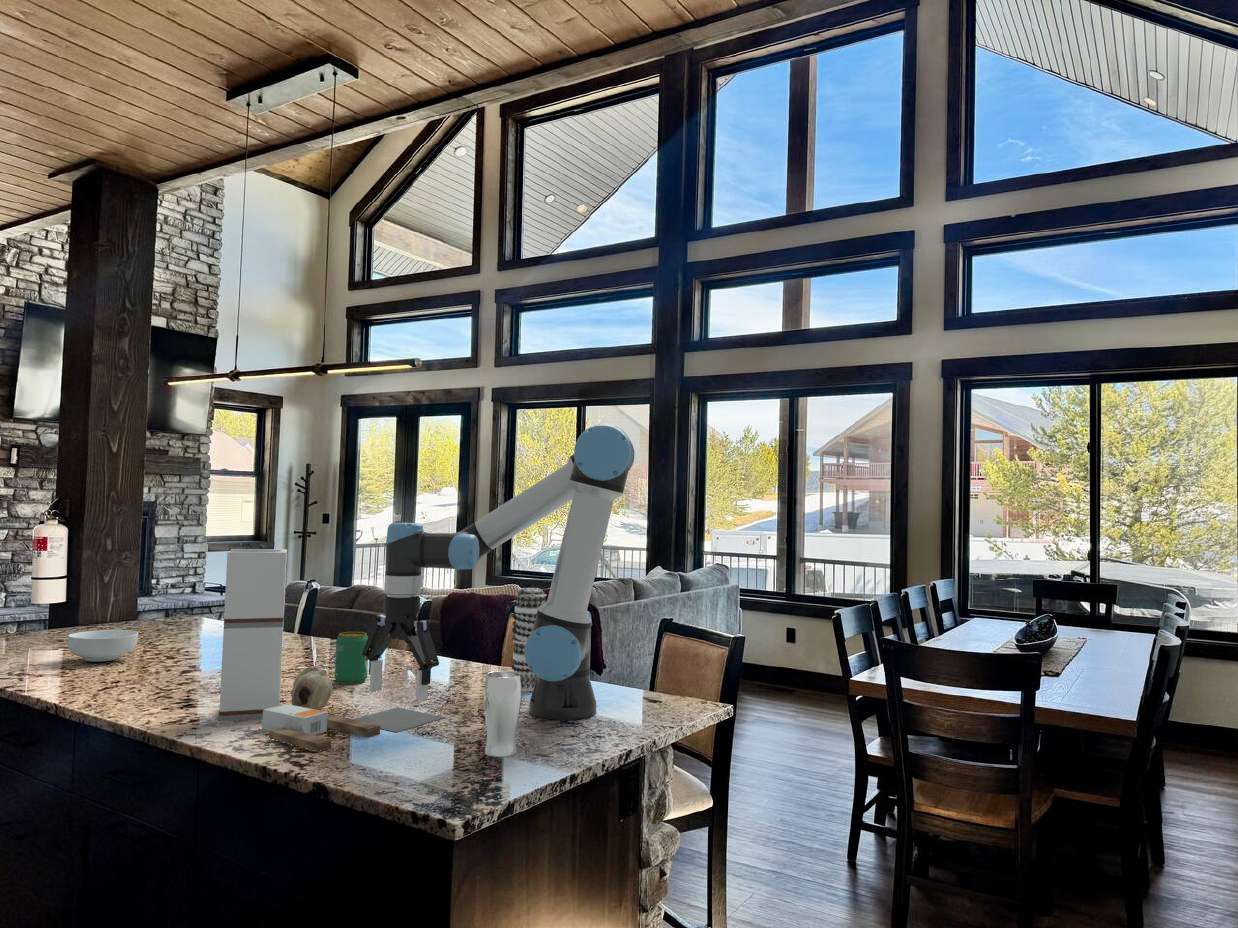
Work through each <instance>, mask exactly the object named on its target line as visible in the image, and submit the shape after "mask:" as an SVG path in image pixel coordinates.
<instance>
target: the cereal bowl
mask: <svg viewBox="0 0 1238 928" xmlns="http://www.w3.org/2000/svg"><path fill="white" fill-rule="evenodd" d="M138 639H139V632H138V631H135V630H129V629H128V630H127V629H104V630H103V629H102V630H101V629H100V630H99V629H98V630H88V631H79V632H73V633H70V634H67V639H66V640H67V648H68V651H69V652H71V654H73V655H74V656H76V657H80V658H82V659H84V661H87V662H108V661H110V662H111V661H115V660H117V659H119V658H120V657H121V656H124V655H126V654H129V653H130V652H132V650H134V649H135V647H136V646H137V643H138Z"/></svg>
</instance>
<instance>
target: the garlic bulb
mask: <svg viewBox="0 0 1238 928" xmlns="http://www.w3.org/2000/svg"><path fill="white" fill-rule="evenodd" d="M327 673H328V671H327V670H323V669H322V668H321V667H320V666H319V665H312V666H308V667H306V668H304V669H303V670H301V671H300V672H299V673H298V674H297V675H296V677H295V679H294V680H293V682H292V683H293V684H292V689H291V695H290V696H291V700H290V701H291V702H290V703H291V705H294V706H299V707H304V708H309V709H315V710H320V711H323V709H324V708H325V707H326V706H327V704H328V703H329V701H330V699H331V697H332V694H333V683H332V680H331V678H330V676H329V675H328V674H327Z"/></svg>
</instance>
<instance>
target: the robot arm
mask: <svg viewBox="0 0 1238 928" xmlns="http://www.w3.org/2000/svg"><path fill="white" fill-rule="evenodd" d="M573 448H574V449H573V454H572V455H570V456H568V460H567V463H566V464H564V465H562V466H561V467H560V468H558V469H556V470H555V471H553V472H552V473H550V474H548V475H547V476H546V477H544V478H542V479H540V480H539V481H537V482H536V483H534V484H533V485H532V486H530V487H529V488H527V489H525V490H524V491H522V492H521V493H519V494H517V495H515V496H514V497H513V498H511V499H509V500H508V501H505V502H504V503H503V504H502V505H500V506H499V507H496V508H495V509H493V510H492V511H490V512H489V513H487V514H486V515H484V516H482V517H481V518H479V519H478V520H476V521H475V522H473V523H471V524H469V525H468V526H466V527H465V528H463V529H462V530H460V531H457V532H450V533H449V532H447V533H446V532H445V533H443V532H442V533H441V532H435V533H434V532H426V531H424V525H423V524H422V523H421V522H392V523H390V524H389V525H388V526H387V531H386V542H385V570H384V571H385V572H384V585H383V588H384V590H383V593H384V594H385V595H384V597H383V607H382V608H383V609H382V610H383V613H384V614H377V615H374V617H373V626H372V628H371V630H370V632H369V634H368V639H367V642H366V644H365V647H364V649H363V652H362V655H363V656H366V657H367V658H368V674H369V693H374V692H379V691H382V687H383V664H384V663H383V659H382V658H383V657H382V655H383V654H384V652H385V651H386V650H387V649H388V647H389V646H390V644H392V641H393V640H400V641H404V643H405V644H407V646H408V647H409V649H410V651H411V653H412V655H413V656H414V658H415V659H414V660H416V662H417V664H418V666H419V668H418V669H416V684H415V686H416V688H415V702H422V701H426V700H429V685H430V684H431V678H432V677H431V675H432V669H433V668H435V667H438V666H439V665H440V660H439V657H438V655H437V651H436V647H435V644H434V642H433V638H432V636H431V632H430V621H429V620H428V619H425V620H418V614H419V613H420V609H421V608H420V607H421V597H420V595H419V594H420V593H421V585H422V584H421V581H422V568H424V569H430V568H431V569H447V570H449V569H450V570H452V569H453V570H457V571H460V570H461V571H462V570H472V569H474V568H476V566H477V563H479V561H480V559H482V557H484V556H485V555H486V554H489V553H490V552H491V551H493V550H494V549H496V548H497V547H499V546H500V545H502V544H504V543H506V542H507V541H509V540H510V539H512V538H513V537H515V536H516V535H518V534H520V533H521V532H522V531H525V530H526V529H528V528H529V527H531V526H532V525H534V524H535V523H537V522H538V521H540V520H542V519H543V518H546V516H548V515H550V514H551V513H553V512H554V511H556V510H558V509H559V508H562V507H563V506H564V505H567V503H569V502H570V501H571V503H570V508H569V511H568V515H567V520H566V524H565V528H564V532H563V535H562V536H563V537H562V539H561V542H560V548H559V552H558V556H557V560H556V563H555V568H554V572H553V576H552V579H551V584H550V589H549V592H548V596H547V600H546V601H545V603H544V604H543V605H541V606H539V607H538V610H537V615H536V618H535V622H534V626H533V630H532V633H531V635H530V636H529V637H528V640H527V642H526V645H525V659H526V662H527V665H528V666H529V668H530V669H531V671H532V672H533V673H534V674H535V675H536V676H538V679H537V682H536V684H535V687H534V690H533V691H532V694H531V697H530V699H529V704H528V705H529V707H528V711H529V712H528V713H530V715H532V716H533V717H538V718H541V719H544V720H545V719H547V720H555V721H557V720H558V721H572V720H573V721H574V720H575V721H576V720H582V719H587V718H591V717H593V716H594V715H596V713H597V699H596V698H595V697H596V696H595V693H594V692H595V691H594V689H593V686H592V685H593V684H592V681H591V677H590V672H591V671H590V669H591V668H590V667H591V641H592V640H591V639H592V638H591V636H592V634H591V633H592V626H593V621H592V614H591V612H590V611H588V607H589V603H590V599H591V594H592V591H593V588H594V587H593V586H594V582H595V578H596V574H597V571H598V566H599V563H600V558H601V553H602V551H603V547H604V543H605V538H606V535H607V529H608V527H609V526H608V525H609V522H610V517H611V514H612V509H613V506H614V502H615V500H616V499H619V498H620V497H621V496H623V494H624V491H625V487H626V483H627V479H628V474H629V471H630V470H631V468H632V467H633V465H634V460H635V449H634V445H633V443H632V441H631V440H630V438H629V436H628V435H627V433H625V431H624V430H623V429H621V428H619V427H618V426H616V425H615V426H614V425H612V424H605V423H602V424H601V423H600V424H596V425H595V424H594V425H592V426H590V427H588V428H587V429H585V430H584V431H583V432H582V433H581V434H580V435H579V436H578V438H577V440H576V441H575V445H574V447H573Z"/></svg>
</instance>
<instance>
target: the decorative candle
mask: <svg viewBox="0 0 1238 928" xmlns="http://www.w3.org/2000/svg"><path fill="white" fill-rule="evenodd" d="M514 595H515V606H514V610H513V611H512V612H513V613H512V615H511V618H513V620H514V621H512V626H513V627H512V629H511V632H512V633H513V634H514V635H512V642H513V643H514V645H513V646H514V647H513V652H512V654H513V655H512V660H511V663H512V664H513V665H511V669H512V671H515V672H518V673H520V674H521V692H533V690H534V687H535V684H536V682H537V679H538V676H536V675H535V674H534V673H533V672H532V671H531V669H530V668H529V666H528V665H527V662H526V659H525V645H526V642H527V640H528V637H529V636H530V635H531V633H532V630H533V626H534V622H535V618H536V615H537V610H538V607H539V606H541V605H543V604H544V603H546V597H547V594H546V593H545V592H544V591H543V589H541V588H539V587H522V588H520V589H519V590H518V591H517V593H516V594H514Z"/></svg>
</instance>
